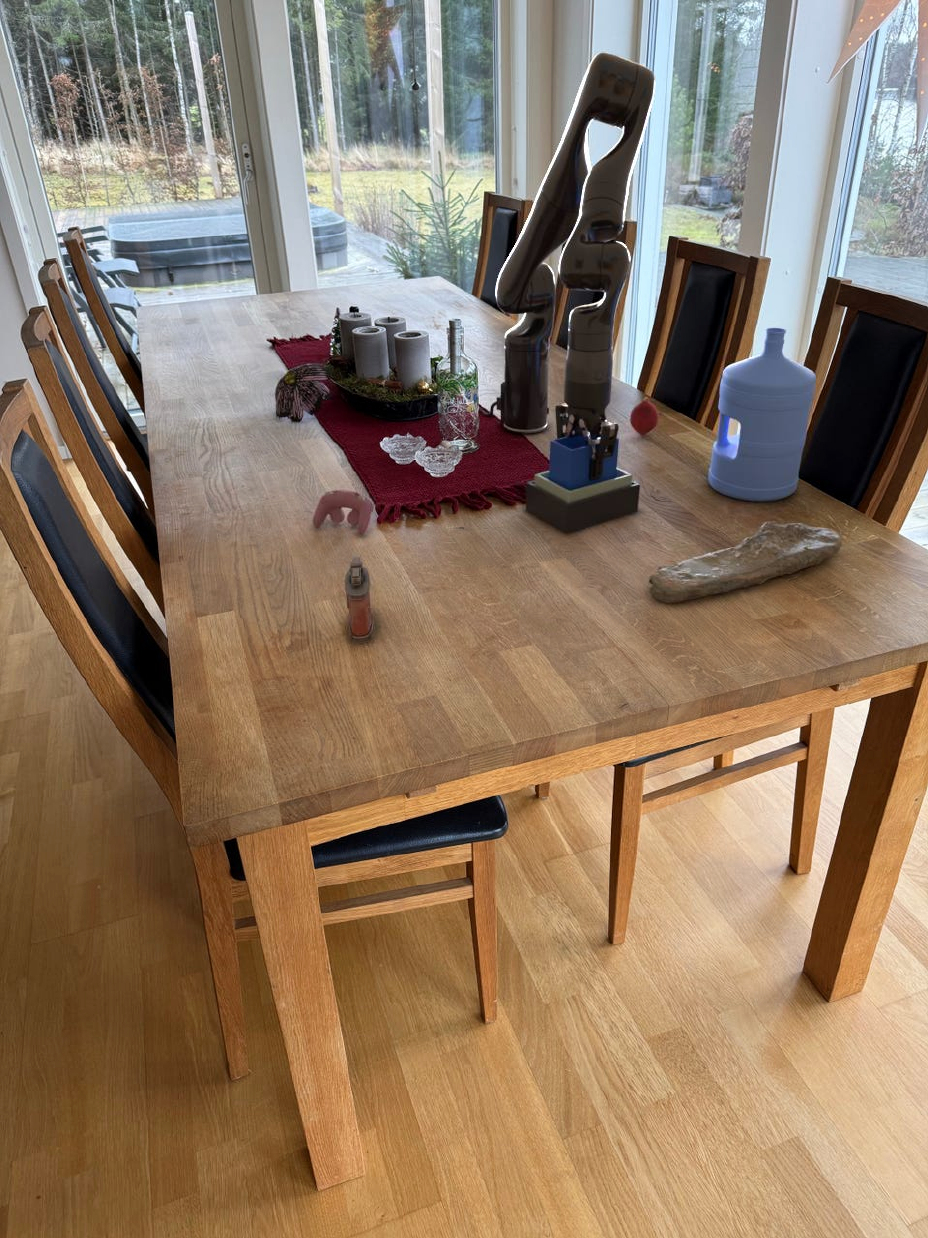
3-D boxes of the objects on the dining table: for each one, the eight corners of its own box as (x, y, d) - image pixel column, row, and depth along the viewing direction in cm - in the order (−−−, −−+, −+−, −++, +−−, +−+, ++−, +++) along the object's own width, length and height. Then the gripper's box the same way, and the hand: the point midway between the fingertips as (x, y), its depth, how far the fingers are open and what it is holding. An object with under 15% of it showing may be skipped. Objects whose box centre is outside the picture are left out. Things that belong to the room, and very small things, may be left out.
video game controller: (373, 535, 153) (378, 494, 152) (362, 534, 148) (367, 492, 148) (321, 527, 156) (326, 487, 155) (309, 527, 151) (314, 485, 150)
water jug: (801, 476, 167) (830, 323, 152) (789, 509, 155) (820, 345, 140) (716, 465, 173) (737, 315, 158) (699, 495, 161) (719, 336, 146)
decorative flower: (252, 368, 201) (312, 341, 203) (269, 408, 210) (327, 382, 212) (272, 403, 192) (335, 374, 194) (289, 443, 201) (349, 415, 203)
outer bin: (566, 534, 148) (567, 505, 146) (525, 510, 157) (526, 482, 154) (637, 511, 155) (640, 484, 153) (595, 489, 164) (596, 463, 161)
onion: (656, 440, 185) (660, 402, 181) (628, 439, 186) (631, 401, 182) (656, 431, 190) (660, 393, 185) (629, 429, 191) (632, 392, 186)
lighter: (350, 613, 128) (343, 550, 123) (373, 611, 128) (368, 549, 123) (348, 643, 121) (341, 578, 116) (373, 642, 121) (368, 577, 116)
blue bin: (569, 490, 149) (571, 450, 145) (548, 479, 153) (550, 440, 149) (616, 477, 153) (619, 438, 149) (594, 467, 157) (597, 428, 154)
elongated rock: (631, 591, 134) (672, 625, 127) (633, 561, 131) (676, 594, 124) (808, 531, 146) (855, 558, 139) (814, 502, 143) (862, 529, 136)
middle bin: (567, 527, 149) (569, 492, 146) (533, 507, 156) (534, 474, 153) (629, 508, 155) (632, 474, 152) (594, 489, 162) (596, 457, 159)
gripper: (636, 381, 140) (627, 481, 149) (579, 360, 150) (574, 455, 159) (598, 389, 137) (592, 492, 145) (542, 367, 147) (540, 464, 156)
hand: (582, 472), depth 152 cm, fingers closed on blue bin, 5 cm apart
